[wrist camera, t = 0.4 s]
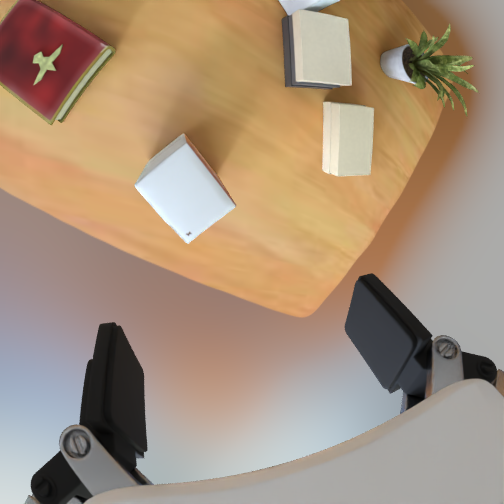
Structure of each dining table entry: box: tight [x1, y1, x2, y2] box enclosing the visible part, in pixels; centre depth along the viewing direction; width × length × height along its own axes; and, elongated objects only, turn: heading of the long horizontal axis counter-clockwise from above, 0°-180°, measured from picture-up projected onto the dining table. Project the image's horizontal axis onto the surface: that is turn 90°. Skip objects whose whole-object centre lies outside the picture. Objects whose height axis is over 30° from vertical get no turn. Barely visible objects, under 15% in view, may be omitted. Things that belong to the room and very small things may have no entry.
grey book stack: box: [282, 15, 340, 89], centre depth 28 cm, size 11×6×4 cm, turn 3°
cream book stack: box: [322, 102, 374, 176], centre depth 36 cm, size 11×6×4 cm, turn 3°
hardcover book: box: [0, 0, 116, 125], centre depth 18 cm, size 12×21×4 cm, turn 45°
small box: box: [135, 133, 236, 244], centre depth 30 cm, size 8×6×13 cm
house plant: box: [380, 25, 478, 116], centre depth 27 cm, size 14×14×16 cm
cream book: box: [292, 9, 352, 86], centre depth 26 cm, size 10×7×2 cm
